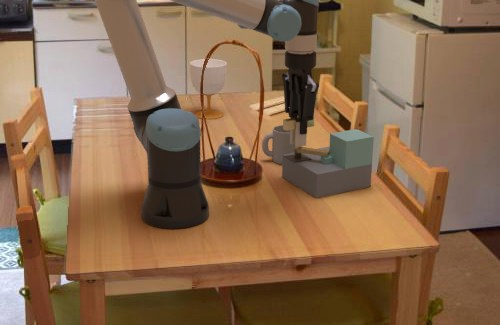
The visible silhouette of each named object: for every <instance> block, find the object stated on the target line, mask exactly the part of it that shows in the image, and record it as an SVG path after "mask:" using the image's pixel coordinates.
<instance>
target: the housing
mask: <svg viewBox="0 0 500 325" xmlns="http://www.w3.org/2000/svg"><path fill="white" fill-rule="evenodd" d="M329 147H330V146H325V147H320V148H318V149H320V150H328V151H329ZM320 161H321V156H318V155H311V154H304V153H301V158H294V153H290V154H284V155H283V158H282V164H281V165H282V166H281V170H282V171H281V172H282V173H281V177H282V178H283V179H285V180H286V181H288V182H290V184H293V185H295V186H296V187H298V188H300V189H301V190H302V191H304V192H306V193H308V194H309V195H311V196H312V197H314V198H315V199H318V198H322V197H328V196H332V195H333V196H334V195H338V194H343V193H347V192H351V191H356V190H361V189H366V188H370V187H371V188H372V186H371V185H372V171H373V163H372V164H369V165H364V166H359V167H353V168H348V169H344V168H342V167H340V166H338V165H337V164H335V163H330V164H323V163H321V162H320Z"/></svg>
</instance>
